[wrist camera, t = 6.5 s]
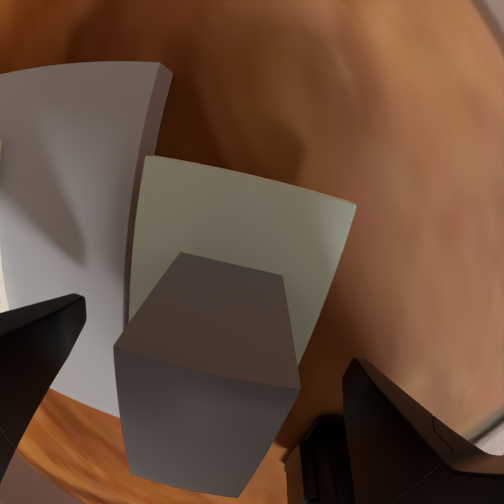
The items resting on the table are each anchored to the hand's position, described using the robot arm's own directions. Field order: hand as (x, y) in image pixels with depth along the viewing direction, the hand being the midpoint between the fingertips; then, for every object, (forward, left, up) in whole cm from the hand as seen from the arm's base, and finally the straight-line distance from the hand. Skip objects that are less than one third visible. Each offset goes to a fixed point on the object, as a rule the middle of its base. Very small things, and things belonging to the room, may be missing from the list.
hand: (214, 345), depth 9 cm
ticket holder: (+13, 0, -3) cm, 13 cm away
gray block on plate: (0, 0, -1) cm, 1 cm away
